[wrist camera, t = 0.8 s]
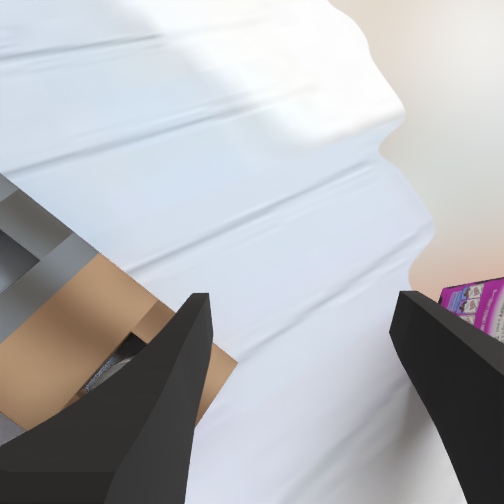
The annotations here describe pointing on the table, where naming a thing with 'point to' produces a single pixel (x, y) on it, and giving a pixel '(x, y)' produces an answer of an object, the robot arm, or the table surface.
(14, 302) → the dock board
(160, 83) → the table surface
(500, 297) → the candy bar box
